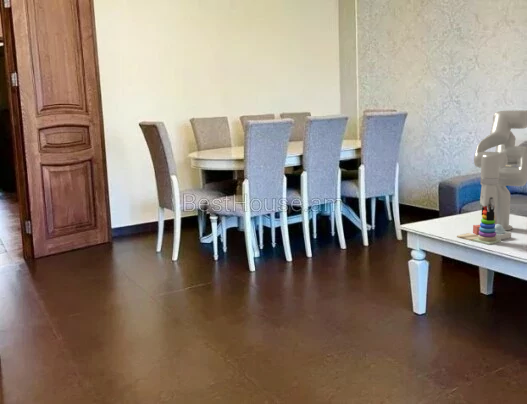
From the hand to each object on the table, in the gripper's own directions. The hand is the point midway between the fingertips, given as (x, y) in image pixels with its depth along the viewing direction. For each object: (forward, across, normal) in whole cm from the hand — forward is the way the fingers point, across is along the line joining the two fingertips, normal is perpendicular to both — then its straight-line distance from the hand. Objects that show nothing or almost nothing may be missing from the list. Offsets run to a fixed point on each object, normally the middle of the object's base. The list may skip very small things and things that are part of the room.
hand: (487, 218), depth 250 cm
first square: (+11, -7, -6) cm, 14 cm away
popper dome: (+10, -8, +7) cm, 14 cm away
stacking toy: (+10, 0, 0) cm, 11 cm away
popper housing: (+11, -8, +7) cm, 15 cm away
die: (+11, -15, 0) cm, 19 cm away
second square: (+11, 0, 0) cm, 11 cm away
